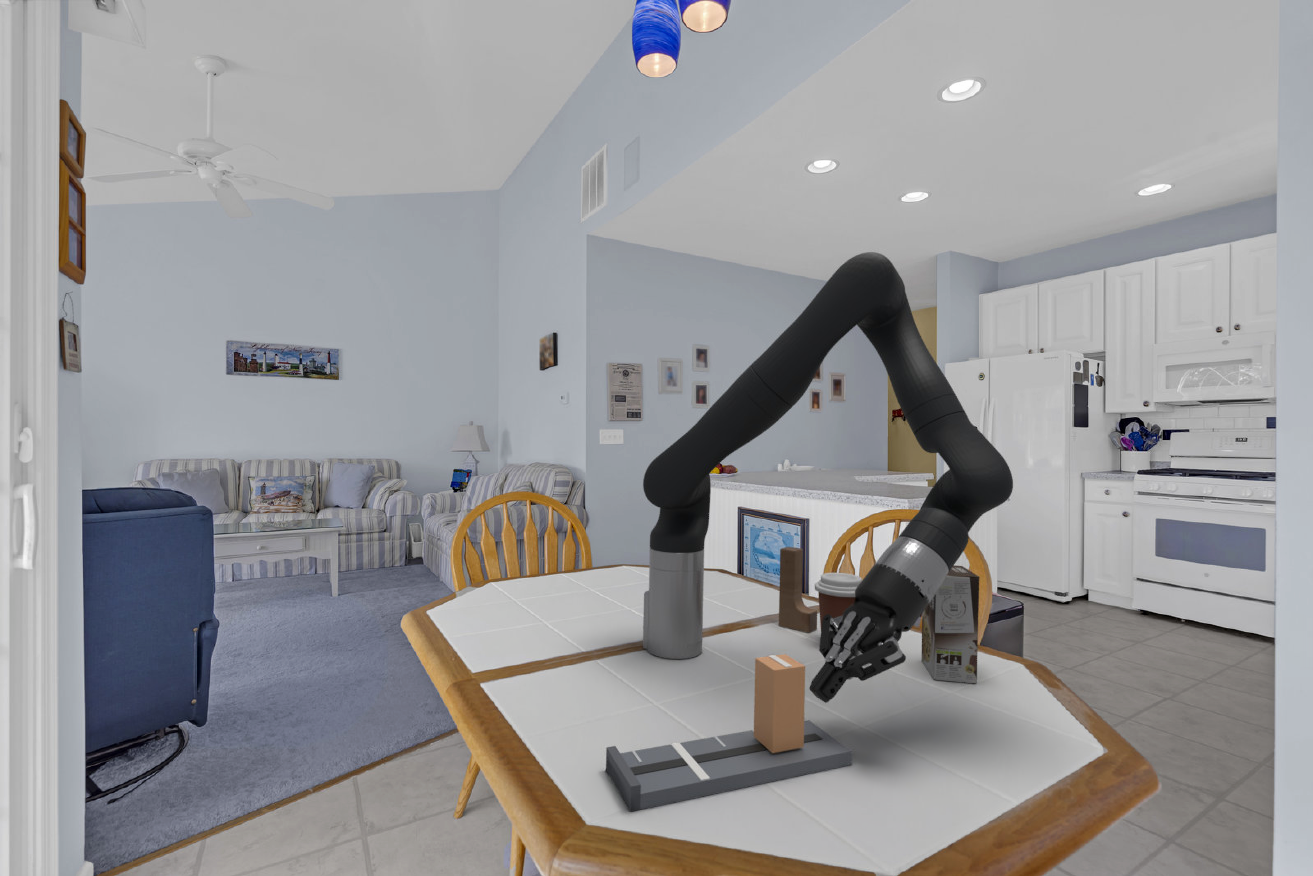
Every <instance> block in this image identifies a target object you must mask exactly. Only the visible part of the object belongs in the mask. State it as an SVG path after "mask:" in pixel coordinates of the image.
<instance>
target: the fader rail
mask: <svg viewBox="0 0 1313 876" xmlns="http://www.w3.org/2000/svg"><path fill="white" fill-rule="evenodd" d="M605 749H606V751H605V752H606V753H605V756H606V757H605V770H606V772H607V774H608V776H609V777H610V779H611V781H612V783H613V784H614V786H615V788H616V789H617V791H618V793H619V794H620V796H621V798H622V800H623V801H624V803H625V805H626V806H627V808H628V810H629V812H630V813H631V812H635V811H641V810H645V809H650V808H654V807H659V806H663V805H668V804H673V803H678V802H682V801H687V800H691V799H696V798H697V799H698V798H701V797H705V796H706V797H707V796H711V795H716V794H720V793H725V792H729V791H733V790H739V789H743V788H749V787H752V786H758V785H763V784H767V783H772V782H777V781H781V780H786V779H791V778H795V777H799V776H805V775H809V774H814V773H818V772H823V771H827V770H832V769H838V768H841V767H846V766H851V765H853V751H852V750H851V749H850V748H849V747H847V746H846V745H844V744H843V743H842V742H841V741H839V740H838V739H836V738H835V737H833V735H830V734H829V733H828V732H826V731H825V730H824V729H822V728H820V726H818V725H817V724H815V723H813V722H812V721H811V720H809V719H808V720H804V747H802V748H797V749H792V750H787V751H781V752H776V753H772V752H771V751H769V750H768V749H767V748H766V747H765V746H764V745H763V744H762V743H760V742H759V741H758V740H757V739H756V738H755V737H754V729H750V730H744V731H740V732H734V733H728V734H723V735H717V736H712V737H711V736H710V737H705V738H704V737H703V738H699V739H695V740H689V741H688V740H687V741H683V742H680V741H679V742H674V743H671V744H665V745H660V746H654V747H650V748H649V747H648V748H644V749H637V750H631V751H625V752H620V751H619V749H618V748H617V746H616V745H612V746H607V747H606V748H605Z"/></svg>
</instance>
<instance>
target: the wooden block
mask: <svg viewBox="0 0 1313 876" xmlns="http://www.w3.org/2000/svg"><path fill="white" fill-rule="evenodd" d="M779 553H780V554H779V594H778V595H779V600H778V601H779V602H778V605H779V606H778V626H779V627H783V628H787V629H791V630H795V631H799V632H803V633H807V634H810V633H812V632H814V631H817V630H818V610H816V609H814V608H813V609H812V608H810V607H808V606H807V605H806V604H805V603H804V600H803V571H804V569H803V566H804V565H803V563H804V562H803V561H804V559H803V557H804V554H803V553H804V548H800V547H792V546H786V547H781V548H780V549H779Z"/></svg>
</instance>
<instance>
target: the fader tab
mask: <svg viewBox="0 0 1313 876" xmlns="http://www.w3.org/2000/svg"><path fill="white" fill-rule="evenodd" d="M754 660H755V661H754V700H753V701H754V705H753V708H754V710H753V730H754V737H755V738H756V739H757V740H758V741H759V742H760V743H762V744H763V745H764V746H765V747H766V748H767V749H768V750H769V751H771V752H772V753H776V752H781V751H787V750H792V749H797V748H802V747H804V721H805V705H806V704H805V698H806V697H805V694H806V688H805V687H806V665H804V664H802V663H801V662H799V661H797V660H796V659H794V658H793V657H791V656H789V655H787V654H785V653H783V654H776V655H775V654H771V655H767V656H760V657H755V659H754Z"/></svg>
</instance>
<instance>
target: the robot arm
mask: <svg viewBox="0 0 1313 876" xmlns="http://www.w3.org/2000/svg"><path fill="white" fill-rule="evenodd" d="M839 266H840V267H838V268H837V270H836V271H834V272H833V274H832V275H831V277H830V278H829V279H828V280H827V282H825V284H824V285H823V287H822V288H821V289H820V290H819V291H818V293H817V294H816V295H815V296H814V298H813V299H812V300H811V301H810V303H809V304H808V305H807V307H806V308H805V309H804V310H803V311H802V313H800V314H799V316H798V317H797V318H796V319H795V320H794V321H793V322H792V323H791V324H790V325H789V326H788V327H787V328H786V329H785V330H784V331H783V332H782V333H781V334H780V335H779V336H778V337H777V338H776V339H775V340H774V342H772V344H771V345H770V346H769V347H767V349H766V350H765V351H763V353H762V354H760V356H758V358H756V359H755V360H754V361H753V362H752V363H751V364H750V365H749V366H748V367H747V368H746V369H745V370H744V371H743V372H742V373H741V374H740V375H739V376H738V377H737V378H736V379H735V381H734V382H733V383H732V384H731V385H730V386H729V387H728V389H727V390H725V392H723V393H722V395H721V396H720V397H719V398H718V399H717V400H715V402H714V403H713V404H712V405H711V406H710V408H709V409H707V411H706V412H705V413H704V415H702V416H701V417H700V418H699V420H698V421H697V422H696V423H695V424H694V425H693V426H692V427H691V428H690V429H689V430H687V432H685V433H684V434H683V435H682V436H681V437H679V438H678V439H677V440H676V441H674V443H672V444H671V445H670V446H669V447H667V448H666V449H665V450H663V451H662V452H661V453H660V454H659V455H657V456H656V457H655V458H654V459H653V460H652V461H650V463H649V465H648V466H647V468H646V470H645V473H644V476H643V481H642V487H643V493H644V495H645V498H646V499H647V501H648V502H650V503H651V504H652V505H653V506H655V507H657V508H659V515H658V519H657V522H656V523H655V525H654V526H653V528H652V529H651V531H650V535H649V564H648V565H649V567H648V569H649V570H648V572H649V574H648V575H649V576H648V590H645V591H644V593H643V619H642V620H643V621H642V622H643V623H642V624H643V625H642V629H643V631H642V649H646V650H647V651H648V652H649V653H650V654H651V655H653V656H655V657H656V656H657V657H658V658H659V657H660V658H663V659H664V658H665V659H676V660H678V659H679V660H681V659H690V658H694V657H697V656H699V655H700V654H702V652H703V627H704V622H703V621H704V583H705V582H704V579H705V578H704V577H705V575H704V574H705V541H706V536H707V533H708V530H709V525H710V511H711V489H712V486H711V477H710V473H711V472H712V471H714V470H715V468H717V466H718V465H719V464H720V463H721V462H722V461H723V460H725V459H726V458H727V457H729V456H731V455H732V454H733V453H734V452H736V451H738V450H739V449H741V448H742V447H745V446H746V445H747V444H749V443H750V442H752V441H753V440H755V439H756V438H758V437H760V435H762V434H764V433H765V432H766V431H768V430H769V429H771V427H773V425H774V426H775V424H776V423H778V421H780V419H781V418H783V417H784V416H785V415H786V414H787V413H788V412H789V411H790V410H791V409H792V408H793V406H795V405H796V404H797V403H798V402H799V400H801V398H802V397H804V395H805V393H806V391H808V390H809V387H810V385H811V384H812V382H813V380H814V378H815V377H816V375H817V372H818V370H819V369H820V368H821V366H822V364H823V361H825V358H826V357H827V355H828V354H829V353H830V351H831V350H832V349H833V348H834V346H835V345H836V344H838V343H839V342H840V340H841V339H842V338H844V336H846V335H848V333H849V332H850V331H852V329H854V328H855V327H856V326H857V327H858V328H859V329H860V330H861V332H862V333H863V335H865V336H866V338H867V339H868V341H869V342H870V343H871V344H872V346H873V348H874V349H875V351H876V353H877V354H878V356H879V357H880V360H881V362H882V363H883V365H884V366H883V367H884V368H885V370H886V373H887V375H888V378H889V381H890V384H891V387H892V389H893V392H894V395H895V397H896V400H897V402H898V405H899V407H900V409H901V411H902V414H903V416H904V417H905V420H906V422H907V424H908V426H909V428H910V429H911V432H912V435H914V437H915V439H916V441H917V443H918V445H919V446H920V447H921V449H922V450H924V452H926V453H929V454H937V453H938V455H939V456H940V458H942V460H943V461H944V462H945V464H946V465H947V467H948V468H949V469H948V470H947V471H946V472H944V473H943V474H942V475H941V476H940V477H939V479H938V480H936V482H935V483H934V485H933V486H932V487H931V489H930V491H929V492H928V494H927V495H926V497H925V499H924V500H923V503H922V504H921V506H920V508H919V511H918V512H917V513H916V514H915V516H913V517H912V518H911V520H910V521H909V523H908V524H907V525H906V526H905V528H904V529H903V530H902V531H901V533H900V534H899V535H898V537H897V538H896V539H895V540H894V541H893V542H892V543H891V544H890V545H889V546H888V547H887V548H886V549H885V550H884V551H883V553H882V554H881V555H880V556H879V558H878V560H876V562H875V563H874V565H872V567H871V568H870V569H869V571H868V572H867V573H866V575H865V576H864V577H863V579H862V581H861V583H860V584H859V585H858V587H857V588H856V590H855V602H854V603H853V604H852V605H851V606H850V607H848V608H847V609H846V610H845V611H844V613H843V615H842V616H839V617H835V618H832V616H831V615H830V614H827V615H825V616H824V617H823V620H822V629H821V628H820V638H819V639H820V640H819V649H818V651H819V652H820V654H821V655H822V656H823V658H824V664H823V665H822V667H821V668H820V669H819V670H818V672H817V673H816V675H815V676H814V677H813V678H812V680H811V682H810V685H809V690H810V692H811V693H812V694H813V695H814V696H815V697H816V698H817V699H819V700H820V701H822V702H824V703H829V702H830V701H831V700H832V699H834V698H835V696H837V693H839V691H840V690H841V688H842V687H843V686H844V684H845V683H846V681H848V680H852V679H853V678H858V679H859V680H860V681H862V682H864V681H866V680H869V679H871V678H872V677H875V676H877V675H879V674H882V673H883V672H885V671H888V670H890V669H893V668H894V667H896V666H898V665H901V664H903V663H905V661H906V659H907V656H906V655H905V653H904V652H903V651H902V650H901V648H900V645H899V642H900V640H901V638H902V634H903V633H906V632H909V631H911V629H912V627H914V625H915V624H916V622H917V621H918V620H919V618H920V617H921V616H922V613H923V611H924V610H925V608H926V607H927V606H928V604H929V603H930V601H931V600H932V599H933V597H934V596H935V594H936V593H937V592H938V590H939V589H940V587H941V585H942V583H943V581H944V579H945V577H946V575H947V574H948V572H949V571H950V570H951V568H952V567H953V566H954V565H955V564H956V563H957V561H958V560H959V559H960V557H961V556H962V554H963V553H964V551H965V550H966V548H967V546H968V543H969V540H970V539H969V538H970V537H969V532H970V531H971V530H972V527H973V526H974V525H975V524H976V522H977V521H978V520H979V519H980V518H981V517H982V516H983V515H984V514H986V513H988V512H990V511H992V510H993V509H995V508H997V507H999V506H1001V505H1003V504H1004V503H1006V501H1007V500H1008V499H1010V497H1011V495H1012V493H1013V490H1014V480H1013V475H1012V471H1011V469H1010V466H1009V465H1008V463H1007V460H1005V458H1004V456H1003V455H1002V454H1001V453H1000V452H999V451H998V450H997V449H996V447H995V446H994V445H993V444H992V443H991V442H990V441H989V440H988V439H987V437H986V436H985V435H984V434H983V433H982V432H981V431H980V430H979V429H978V428H977V427H976V426H975V425H974V424H972V422H971V421H970V419H969V416H968V415H967V413H966V410H965V409H964V407H963V405H962V403H961V401H960V399H959V398H958V396H957V395H956V393H955V391H954V389H953V387H952V386H951V383H950V382H949V381H948V379H947V377H946V376H945V374H944V373H943V371H942V370H941V368H940V367H939V365H938V364H937V362H936V360H935V358H934V357H933V356H932V354H931V353H930V351H929V349H928V348H927V345H926V344H925V341H924V340H923V338H922V336H921V334H920V331H919V329H918V325H917V324H916V321H915V319H914V316H913V315H914V314H913V313H912V312H913V311H912V310H911V307H910V302H909V300H908V297H907V293H906V286H905V283H904V280H903V278H902V276H901V275H900V273H899V272H898V270H897V268H896V267H895V265H894V264H893V263H892V261H891V260H890V259H889V258H888V257H886V256H885V255H884V254H882V253H879V252H875V251H868V252H863V253H858V254H856V255H854V256H853V257H850V258H849V259H847V260H846V261H845V262H844V263H843V264H841V265H839Z"/></svg>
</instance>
